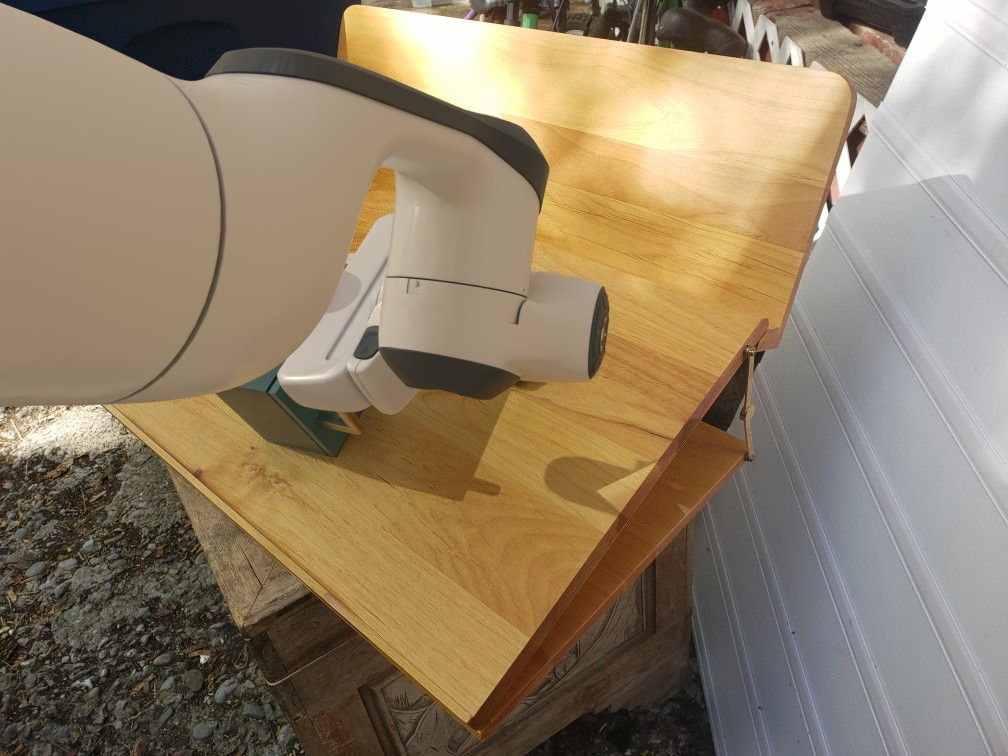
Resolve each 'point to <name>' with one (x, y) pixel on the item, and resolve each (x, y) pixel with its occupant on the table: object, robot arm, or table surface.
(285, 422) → the compartment
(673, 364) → the table surface
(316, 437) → the door
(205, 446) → the table surface
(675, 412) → the table surface
